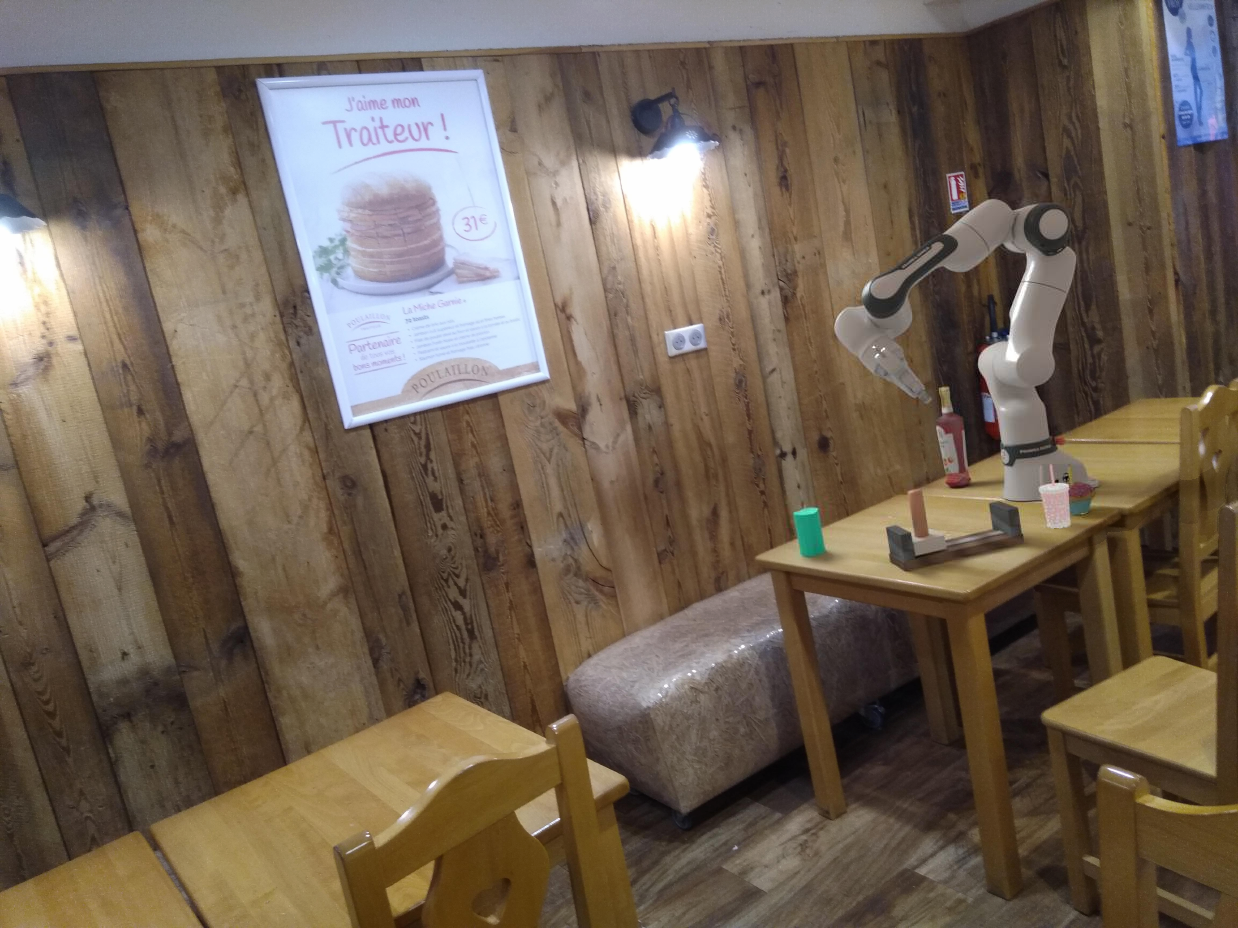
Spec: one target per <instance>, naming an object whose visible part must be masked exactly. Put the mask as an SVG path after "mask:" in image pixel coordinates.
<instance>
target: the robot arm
mask: <svg viewBox="0 0 1238 928" xmlns="http://www.w3.org/2000/svg"><path fill="white" fill-rule="evenodd" d="M1071 219H1072V218H1071V215H1070V213H1069V211H1068V210H1067V209H1066V208H1065V207H1064V206H1063V205H1060V204H1058V203H1054V202H1041V203H1037V204H1029V205H1027V206H1024V207H1022V208H1018V209H1015V210H1014V209H1011V207H1010V206H1009V205H1008V204H1007V203H1006V202H1004V201H1002V200H999V199H997V198H995V199H994V198H992V199H991V198H990V199H987V200H985V201H983V202H982V203H979V204H978V205H977V206H976V207H974V208H973V209H971V210H969V211H968V212H967V213H966V214H965V215H963V217H961V218H960V219H959V220H958V221H956V222H955V223H954V224H953V225H952V226H951V227H949V228H948V229H947V230H946V231H944V232H943V233H942V234H939V235H936V236H934V237H933V238H931V239H930V240H928V241H926V242H925V243H924V244H922V245H921V246H920V247H919V248H918V249H916V250H915V251H913V252H912V253H911V254H910V255H908V256H907V257H905V258H904V259H903V260H902V261H900V262H899V263H898V264H897V265H895V266H893V267H892V268H891V269H889V270H886V271H885V272H882V273H880V274H878V275H875V276H874V277H872V278H871V279H870V280H869V281H868V282H867V283H865V285H864V287H863V289H862V291H861V292H862V293H861V302H862V305H861V306H848V307H845V308H844V309H843V310H842V311H841V312H840V313H839V315H838V316H837V318H836V320H835V321H834V322H835V323H834V333H835V335H836V337H837V338H838V340H839V341H840V342H841V344H842V345H843V346H844V347H845V348H846V349H847V351H849V352H850V353H851V354H853V355H855V356H857V357H858V358H859V360H860V362H861V363H862V364H863V365H864V366H865V367H866V368H867V369H868V370H869V371H870V372H871V373H872V374H873V376H875V377H879V378H883V379H884V380H885V381H887V382H892V383H893V384H894V385H895V386H897V387H898V388H900V389H901V390H902V391H904V392H905V393H906V394H908V396H910V397H912V398H914V399H916V398H919V399H920V400H922V402H924V403H925V404H927V405H928V404H929V403H930V402H931V401H932V397H931V396H930V395H929V394H928V393H927V392H926V391H925V390H926V388H925V385H924V384H923V383H922V382H921V381H920V379H919V378H918V377H917V375H916V374H915V373H914V372H913V370H912V369H911V368H910V367H909V363H908V362H907V360H906V357H905V354H904V349H903V347H901V346H900V345H899V344H898V343H897V342H896V341H894V340H895V339H897V338H898V337H900V336H901V335H902V334H904V333H906V331H908V329H909V328H910V327H911V325H912V323H913V318H914V317H913V311H912V307H911V303H910V301H909V293H910V292H911V290H912V288H913V287H914V286H915V285H916V284H918V283H920V281H922V280H923V279H924V278H925V277H927V276H928V275H929V274H931V273H932V272H933V271H935V270H936V269H938V268H940V267H944V268H946V269H947V270H949V271H952V272H955V273H965V272H966V273H967V272H968V271H970V270H972V269H974V268H975V267H976V266H978V265H980V263H982V261H984V260H985V259H986V258H987V257H989V255H990V254H991V253H992V252H993V251H994V250H995V249H996V248H997V247H1000V248H1001V249H1002V250H1004V251H1006V252H1008V253H1012V254H1025V256H1026V267H1025V272H1024V274H1023V276H1022V279H1021V281H1020V283H1019V286H1018V288H1017V292H1016V294H1015V297H1014V299H1013V301H1012V305H1011V307H1010V310H1009V315H1008V316H1009V320H1010V327H1009V335H1008V340H1007V341H999V342H996V343H993V344H990V345H988V346H987V347H985V348H984V349H983V350H982V351H981V353H980V354H979V357H978V362H977V367H978V369H979V372H980V374H981V375H982V376H983V379H984V380H985V382H986V385H987V388H988V391H989V393H990V396H991V399H992V402H993V405H994V408H995V412H996V416H997V420H998V421H997V422H998V429H999V432H1000V433H999V434H1000V440H1001V441H1000V442H999V447H1000V455H1001V456H1000V457H1001V459H1002V464H1003V470H1004V471H1003V473H1004V475H1003V477H1004V479H1003V491H1002V498H1003V499H1005V500H1009V501H1016V502H1027V501H1028V502H1029V501H1031V502H1033V501H1042V497H1041V493H1040V492H1039V487H1040V486H1043V485H1046V484H1052V479H1051V472H1050V465H1051V464H1052V469H1053V476H1054V483H1065V484H1066V483H1069V482H1070V477H1069V471H1068V467H1069V464H1070V467H1071V469H1072V476H1073V482H1083V483H1086V484H1089V485H1091V486H1092V487H1093V488H1094V489H1095V488H1097V487H1100V482H1099V480H1098V479H1096V478H1094V477H1091V476H1088V475H1089V474H1088V472H1087V468H1086V466H1085V465H1084V463H1083V462H1082V461H1081V460H1080V459H1078V458H1076V457H1074V456H1072V455H1070V454H1068V453H1067V452H1065V451H1063V450H1060V449H1059V446H1064V445H1065V443H1066V438H1064V437H1061V436H1055V437H1054V436H1051V435H1050V433H1049V432H1050V431H1049V427H1048V426H1049V425H1048V418H1047V412H1046V411H1047V410H1046V406H1045V403H1044V402H1043V401H1042V400H1041V398H1040V396H1039V394H1038V392H1037V390H1036V388H1035V387H1037V386H1041V385H1043V384H1044V383H1046V382H1047V381H1048V380H1049V379H1050V378H1052V376H1053V373H1054V372H1055V368H1056V367H1055V366H1056V362H1055V358H1054V355H1053V345H1054V337H1055V331H1056V327H1057V323H1058V320H1059V317H1060V316H1061V312H1062V309H1063V308H1064V304H1065V301H1066V299H1067V296H1068V294H1069V292H1070V288H1071V285H1072V282H1073V279H1074V275H1075V268H1076V264H1077V255H1076V253H1075V251H1074V250H1073V249H1072V248H1071V247H1069V246H1068V245H1069V244H1070V242H1071V230H1072V220H1071ZM1057 445H1059V446H1057Z"/></svg>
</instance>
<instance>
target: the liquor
mask: <svg viewBox="0 0 1238 928" xmlns="http://www.w3.org/2000/svg"><path fill="white" fill-rule="evenodd" d="M938 393H939V395H940V400H941V415H942V416H940V417H938V418H937V419H936V420H935V423H934V424H935V428H936V432H937V433H936V434H937V437H938V442H939V443H938V444H939V448H940V453H941V457H942V458H941V459H942V462H943V467H944V472H945V473H944V474H945V477H946V480H945V484H946V485H947V486H949V487H950V488H952V489H953V488H955V489H959V488H964V487H966V486H968V485H969V483H970V482H971V481H972V478H971V477H970V474H969V466H968V455H967V447H966V435H965V426H964V417H963V416H960V415H959V414H955V413H954V409H953V405H952V401H951V392H950V387H949V386H942V387H939V388H938Z"/></svg>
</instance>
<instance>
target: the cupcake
mask: <svg viewBox="0 0 1238 928" xmlns="http://www.w3.org/2000/svg"><path fill="white" fill-rule="evenodd" d="M1068 471H1069V477H1070V482H1069V483H1066V484H1068V485H1069V490H1068V494H1069V509H1070V514H1081V513H1086V512H1088V511H1089V512H1090V510H1091V509H1090V508H1091V504H1092V501H1093V499H1094V498H1095V496H1096V492H1095V491H1096V490H1095V487H1094V488H1093V487H1092V486H1091V485H1089V484H1086V483H1083V482H1073V476H1072V469H1071V467H1070V464H1069V467H1068ZM1089 512H1088V513H1089ZM1086 514H1087V513H1086Z"/></svg>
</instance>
